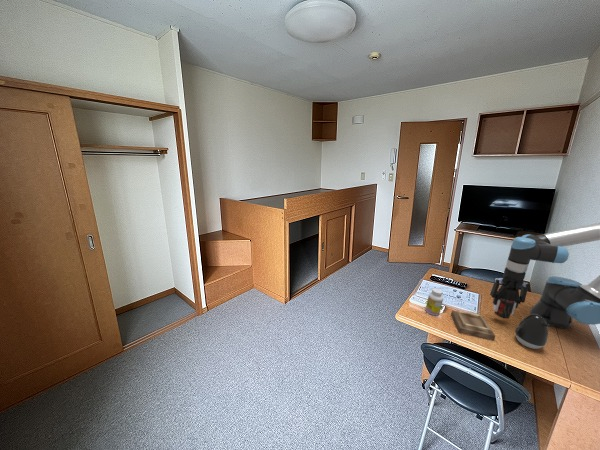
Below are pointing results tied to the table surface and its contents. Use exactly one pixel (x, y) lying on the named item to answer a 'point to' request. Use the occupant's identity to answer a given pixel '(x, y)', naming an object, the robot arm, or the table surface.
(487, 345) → the table surface
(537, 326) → the black rounded dome
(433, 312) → the supplement bottle
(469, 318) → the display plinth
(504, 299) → the deodorant
